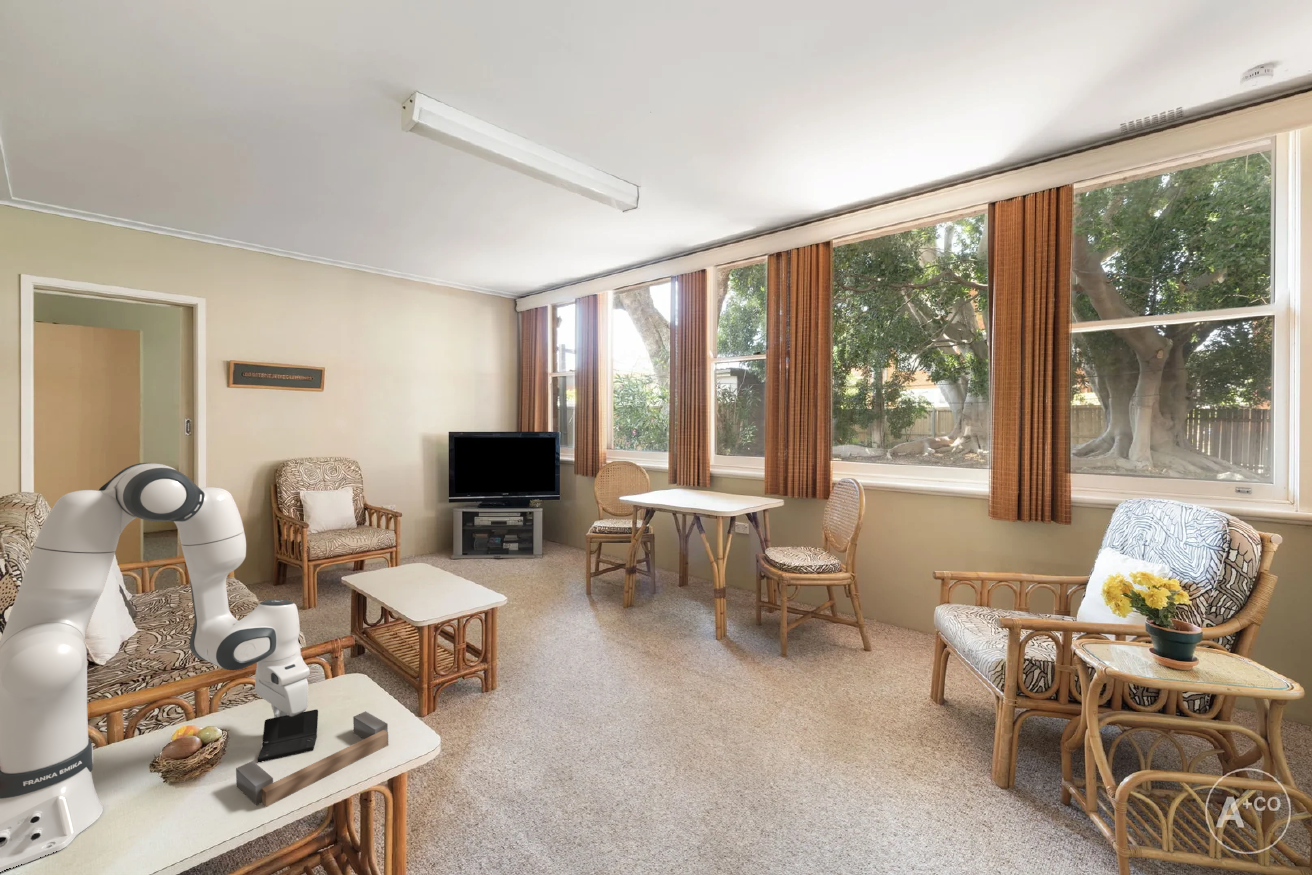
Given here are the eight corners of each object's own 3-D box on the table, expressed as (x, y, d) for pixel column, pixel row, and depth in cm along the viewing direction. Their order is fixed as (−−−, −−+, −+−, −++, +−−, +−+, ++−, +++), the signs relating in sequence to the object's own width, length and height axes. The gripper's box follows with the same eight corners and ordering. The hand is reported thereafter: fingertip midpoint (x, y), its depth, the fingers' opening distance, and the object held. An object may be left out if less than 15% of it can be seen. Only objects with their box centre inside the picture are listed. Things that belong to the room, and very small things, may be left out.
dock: (260, 809, 108) (259, 789, 108) (236, 786, 115) (236, 768, 114) (392, 742, 130) (392, 726, 130) (365, 726, 137) (365, 711, 137)
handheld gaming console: (257, 760, 121) (263, 711, 126) (255, 767, 125) (261, 720, 131) (318, 749, 127) (321, 704, 133) (314, 756, 132) (317, 712, 137)
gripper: (246, 659, 136) (248, 714, 137) (283, 681, 125) (285, 740, 125) (275, 650, 142) (276, 703, 142) (313, 670, 130) (315, 727, 131)
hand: (281, 721), depth 134 cm, fingers closed
